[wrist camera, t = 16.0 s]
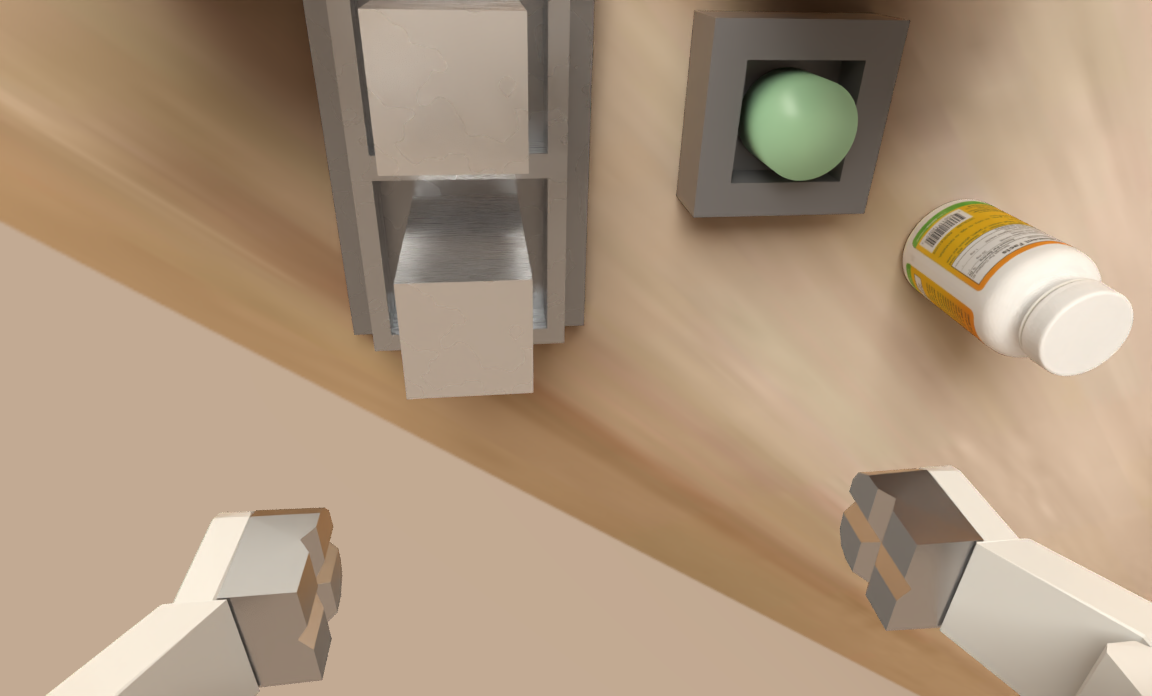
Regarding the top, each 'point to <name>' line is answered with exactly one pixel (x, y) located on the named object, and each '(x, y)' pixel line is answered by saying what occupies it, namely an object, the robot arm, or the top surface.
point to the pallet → (456, 134)
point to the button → (798, 123)
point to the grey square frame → (736, 61)
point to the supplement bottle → (1016, 287)
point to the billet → (465, 298)
